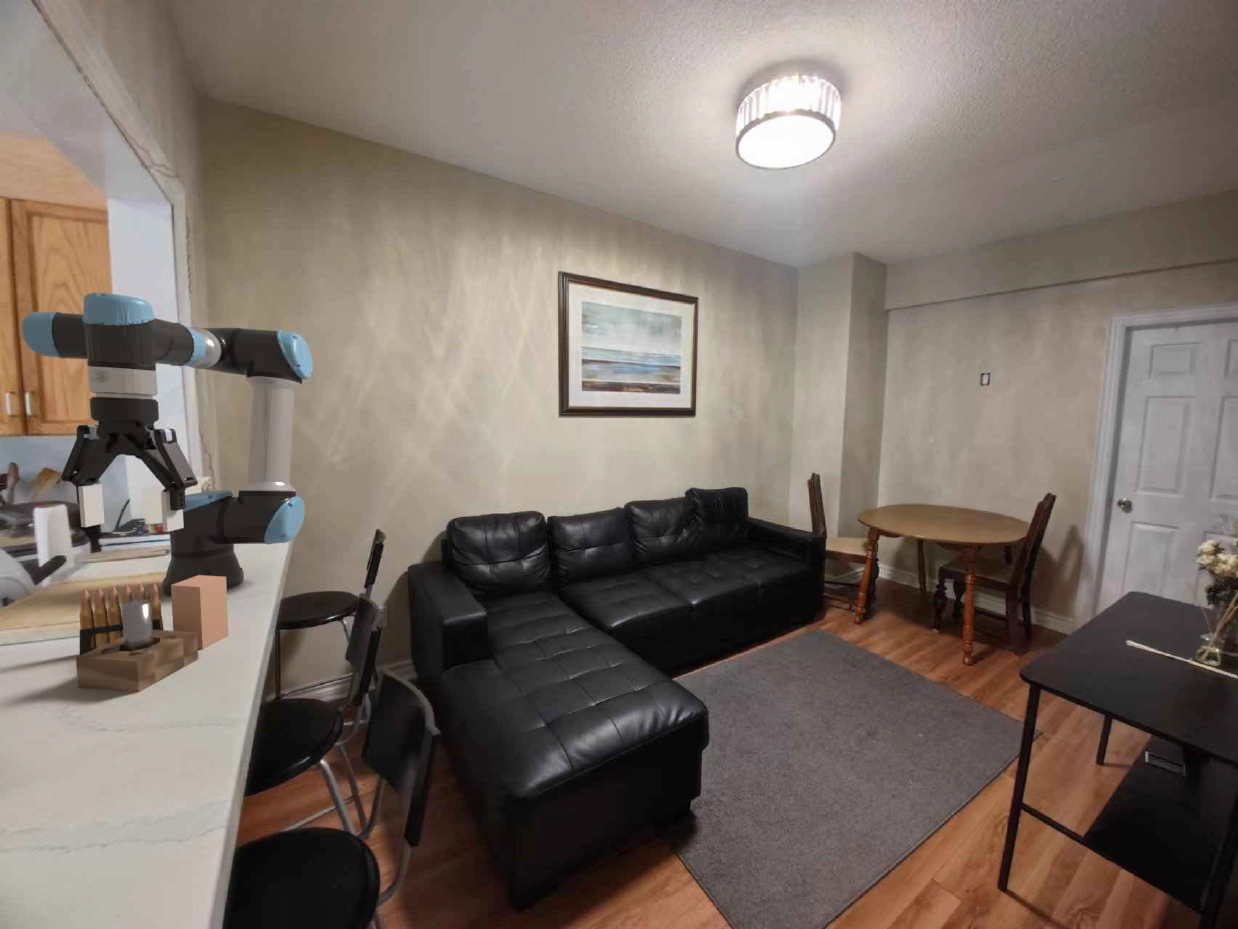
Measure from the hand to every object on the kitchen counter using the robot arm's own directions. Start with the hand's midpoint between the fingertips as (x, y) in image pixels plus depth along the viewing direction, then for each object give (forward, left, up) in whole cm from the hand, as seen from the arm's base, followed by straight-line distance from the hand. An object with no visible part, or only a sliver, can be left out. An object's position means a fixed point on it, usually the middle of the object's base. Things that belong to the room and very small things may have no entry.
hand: (133, 527), depth 77 cm
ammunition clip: (-6, -10, -25) cm, 28 cm away
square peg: (-11, 0, -25) cm, 27 cm away
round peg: (0, 0, -25) cm, 25 cm away
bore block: (0, +1, -25) cm, 25 cm away
